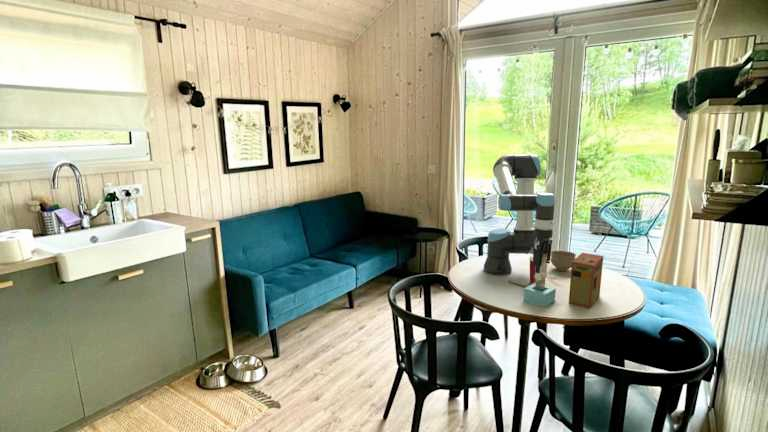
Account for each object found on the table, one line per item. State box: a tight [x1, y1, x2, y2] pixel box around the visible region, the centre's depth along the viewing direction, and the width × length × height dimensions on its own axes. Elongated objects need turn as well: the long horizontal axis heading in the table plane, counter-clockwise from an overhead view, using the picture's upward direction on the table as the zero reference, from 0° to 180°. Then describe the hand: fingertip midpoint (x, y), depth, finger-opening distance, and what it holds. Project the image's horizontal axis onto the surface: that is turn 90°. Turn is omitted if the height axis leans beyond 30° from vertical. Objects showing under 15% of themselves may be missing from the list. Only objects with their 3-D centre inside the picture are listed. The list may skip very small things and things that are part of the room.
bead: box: [523, 283, 557, 308], centre depth 187 cm, size 10×10×6 cm
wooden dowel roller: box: [535, 253, 547, 289], centre depth 184 cm, size 4×4×16 cm
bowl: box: [550, 250, 577, 272], centre depth 226 cm, size 13×13×10 cm
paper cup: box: [528, 254, 536, 285], centre depth 207 cm, size 8×8×14 cm
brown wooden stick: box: [507, 280, 529, 288], centre depth 206 cm, size 10×1×1 cm, turn 41°
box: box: [568, 252, 604, 310], centre depth 184 cm, size 17×9×20 cm, turn 140°
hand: (540, 277), depth 185 cm, fingers closed on wooden dowel roller, 4 cm apart
